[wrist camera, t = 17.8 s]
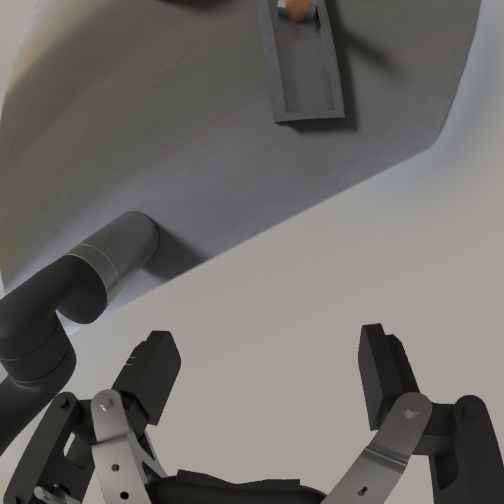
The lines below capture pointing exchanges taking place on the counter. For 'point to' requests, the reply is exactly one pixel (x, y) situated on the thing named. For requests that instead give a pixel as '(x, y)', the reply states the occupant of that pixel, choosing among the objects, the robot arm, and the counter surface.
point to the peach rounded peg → (296, 9)
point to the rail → (300, 64)
